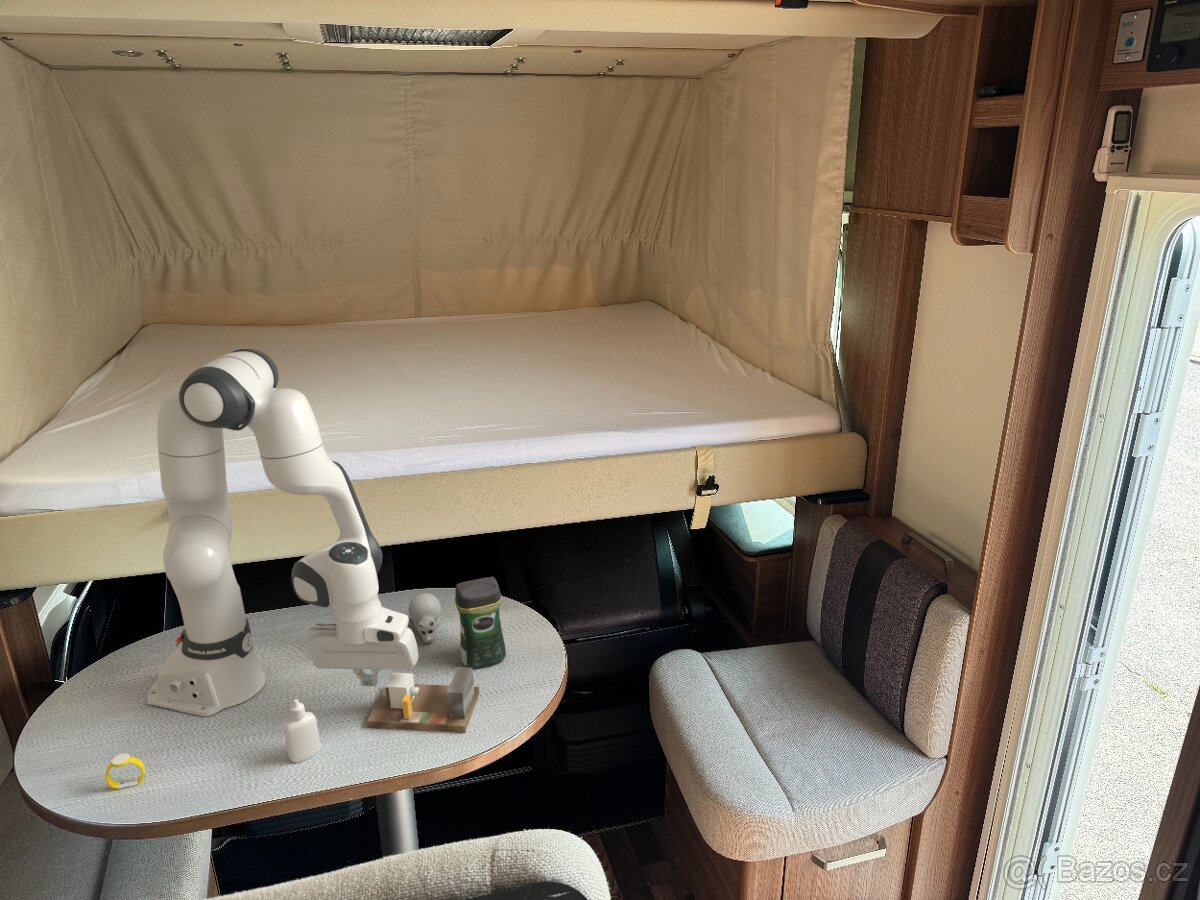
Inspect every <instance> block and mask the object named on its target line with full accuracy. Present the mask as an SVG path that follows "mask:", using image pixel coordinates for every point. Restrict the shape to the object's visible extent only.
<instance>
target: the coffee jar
mask: <svg viewBox="0 0 1200 900" xmlns="http://www.w3.org/2000/svg"><path fill="white" fill-rule="evenodd" d="M454 593H455V595H454V603H455V607H456V609H457V611H458V613H459V621H460V624H459V625H460V634H459V635H460V636H459V637H460V638H459V639H460V640H459V650H460V651H459V654H460V658H461V659H460V660H461V661H462V663H463V665H464V666H465V667H467V668H472V669H478V668H483V667H488V666H493V665H496V664H499V663H500V662H502V661H504V660H505V659H506V656H507V649H506V643H505V638H504V633H503V629H502V623H501V618H500V617H501V615H500V606H501V603H502V593H501V590H500V586H499V584H498V581H497V579H496V578H495V577H494V576H490V577H482V578H476V579H472V580H466V581H462V582H460V583H456V585H455V592H454Z"/></svg>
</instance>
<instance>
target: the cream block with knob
mask: <svg viewBox="0 0 1200 900" xmlns="http://www.w3.org/2000/svg"><path fill="white" fill-rule="evenodd" d="M414 679H415V678H414V673H407V672H392V674H391V676H390V678H389V680H388V682H387V683H388V684H387V683H386V685H385V686H386V687H385V686H384V688H385V689H386V697H387V705H388V707H389V708H399V709H402V711H401V713H400V715H399V719H403V716H404V713H403V705H402V700H403V698H404V696H405V695H410V696H411V703H412V701H413V699H414V697H415V696H418V695H419V692H420V689H419V687H414V684H415V680H414Z"/></svg>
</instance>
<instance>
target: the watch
mask: <svg viewBox="0 0 1200 900" xmlns="http://www.w3.org/2000/svg"><path fill="white" fill-rule="evenodd" d="M128 764H130V765H131V764H132V765H135V766H136V767H137V768H139V769H140V772H141V773H140V775H139V777H138V778H137V779H138V780H137V779H136V780H137V783H139V784H140V783H142V781H143V780H144V776H145V772H146V766H145V764H144V763H143V761H142V760H140V759H139V758H137V757H132V756H131V755H130V754H128V753H127V752H126V753H125V752H123V753H121V754H118V755H116V756H114V758H112V761H111V762H110V763H109V764H108V765H107V768H106V770H105V772H104V773H105V774H104V778H105V782H106V784H107V785H108V786H109V787H110V788H113V789H116V788H119V784H120V783H121V782H118V781H116V780H114V779H113V778H112V777H111V776H110V770H112V769H113V768H122V767H124V766H126V765H128ZM116 790H117V789H116Z"/></svg>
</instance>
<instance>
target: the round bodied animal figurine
mask: <svg viewBox="0 0 1200 900" xmlns="http://www.w3.org/2000/svg"><path fill="white" fill-rule="evenodd" d="M441 609H442V605H441V602H440V601H439V599H438V598H437V597H436V595H434V594H432V593H427V592H424V593H418V594H417V595H415V596H414V597H412V598H411V600H410V602H409V604H408V615H409V616H408V617H410V618H409V619H411V621H412V622H413V627H414V629H415V630H417V631H418V633H419V634H420V635H421V637H422V641H423V643H425V644H432V643H433V642H434V641H435V639H436V631H437V628H438V627H439V626H440V624H441V620H440V619H439V617H440V616H441V612H442V610H441Z"/></svg>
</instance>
